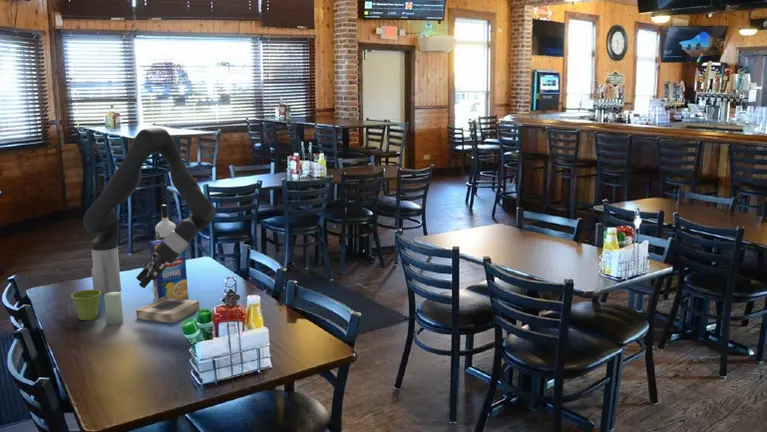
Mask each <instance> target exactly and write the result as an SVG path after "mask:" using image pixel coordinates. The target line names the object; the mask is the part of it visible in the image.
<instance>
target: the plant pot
mask: <svg viewBox="0 0 767 432" xmlns="http://www.w3.org/2000/svg"><path fill="white" fill-rule="evenodd" d="M71 298H72V300H73V302H74V305H75V309H76V311H77V312H76V313H77V316H78V319H79V320H81V321H92V320H95V319H96V318H97V317H99V304H100V298H101V291H99V290H93V289H84V290H80V291H76V292H74V293H72V294H71Z"/></svg>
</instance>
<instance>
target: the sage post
mask: <svg viewBox="0 0 767 432" xmlns="http://www.w3.org/2000/svg"><path fill="white" fill-rule="evenodd" d="M103 297H104V308H105V317H106V318H105V319H106V320H105V321H106V324H107V325H109V326H116V325H120V324H122V323H124V316H123V305H122V293H121V292H120V291H118V292H109V293H106V294H103Z"/></svg>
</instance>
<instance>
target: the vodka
mask: <svg viewBox="0 0 767 432" xmlns="http://www.w3.org/2000/svg"><path fill="white" fill-rule="evenodd" d="M168 209H169V207H168V205H167V204H161V205H160V210H161V211H160V212H161V213H160V214H161V221H159V222H158V223H156V226H155V229H154V230H155V237H156V240H163V239H165V238H166V236H167V235H168V234H169V233H171V232H172V231H173V230H174V229H175V227H176V226H177V225H176V224H175V223H174V222H173V221H171V220H169V210H168Z"/></svg>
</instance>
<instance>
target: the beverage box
mask: <svg viewBox="0 0 767 432" xmlns="http://www.w3.org/2000/svg"><path fill="white" fill-rule="evenodd" d="M163 240H164V239H163ZM163 240H157V239H156V240H149V249H150V258H151V257H152V256H153V255H154V254H157V253H156V252H155V249H156V248H157V246H158V245H159V244H160V243H161V242H162V241H163ZM157 255H158V254H157ZM186 260H187V259H186V248H185V249H184V251H183V252H182V253H181V254H180V255H179V256H178V257H177V259H176V260H175V261H174V262H173V263H172V264H171V263H169V262H166V263H165V264H164V265H165V266H166V268H165V269H164V270H163V271H162V272H161V274H160V275H159V276H158V277H157V278H156V280H152V289H153V298H154V300H155V301H156V300H158V299H160V298H162V297H169V298H178V299H183V298H184V299H187V298H189V292H188V290H189V289H188V277H187V276H188V275H187V261H186ZM153 275H154V274H153Z"/></svg>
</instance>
